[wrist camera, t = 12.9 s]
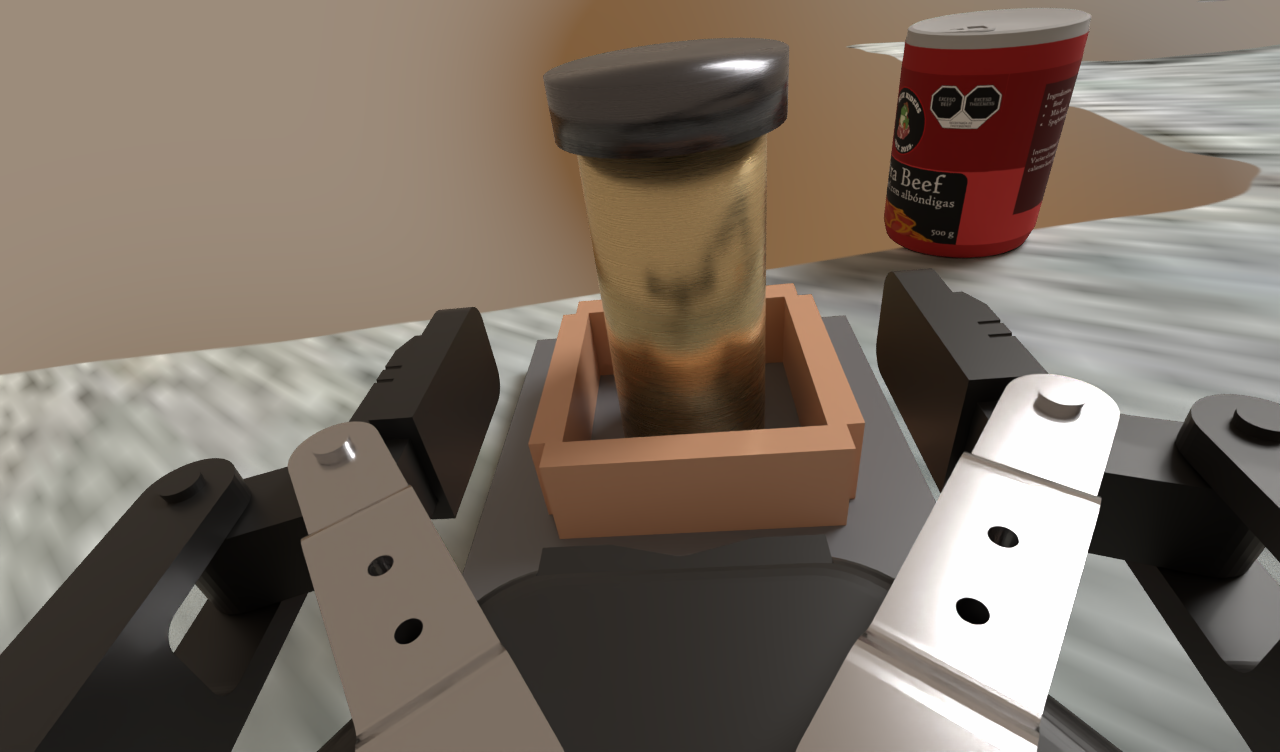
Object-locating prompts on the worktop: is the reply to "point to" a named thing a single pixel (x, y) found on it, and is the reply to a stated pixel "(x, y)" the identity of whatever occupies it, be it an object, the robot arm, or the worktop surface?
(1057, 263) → the worktop surface
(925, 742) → the robot arm
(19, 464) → the worktop surface
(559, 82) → the spice jar
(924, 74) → the canned food
